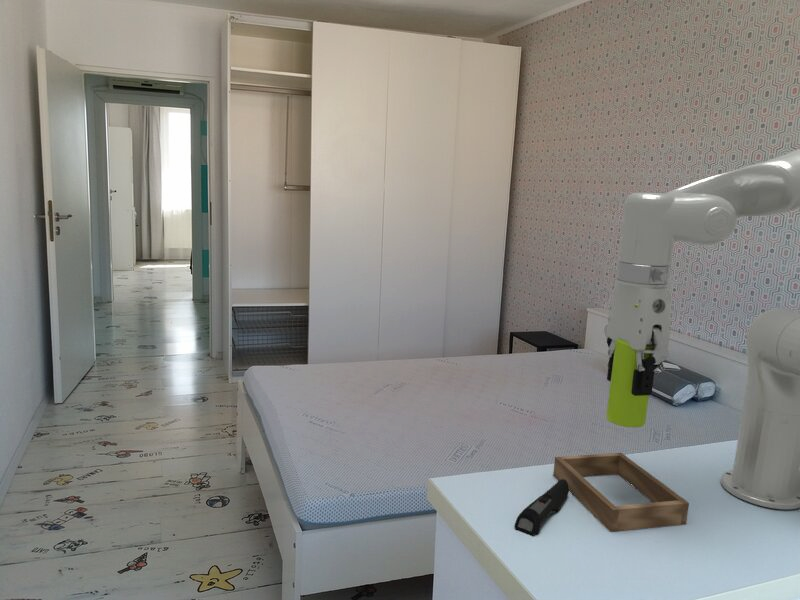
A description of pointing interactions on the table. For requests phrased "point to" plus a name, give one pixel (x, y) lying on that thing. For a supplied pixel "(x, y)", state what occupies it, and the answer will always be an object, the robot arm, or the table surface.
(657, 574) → the table surface
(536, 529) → the electric trimmer
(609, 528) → the frame
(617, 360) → the soap dispenser
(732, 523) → the table surface
